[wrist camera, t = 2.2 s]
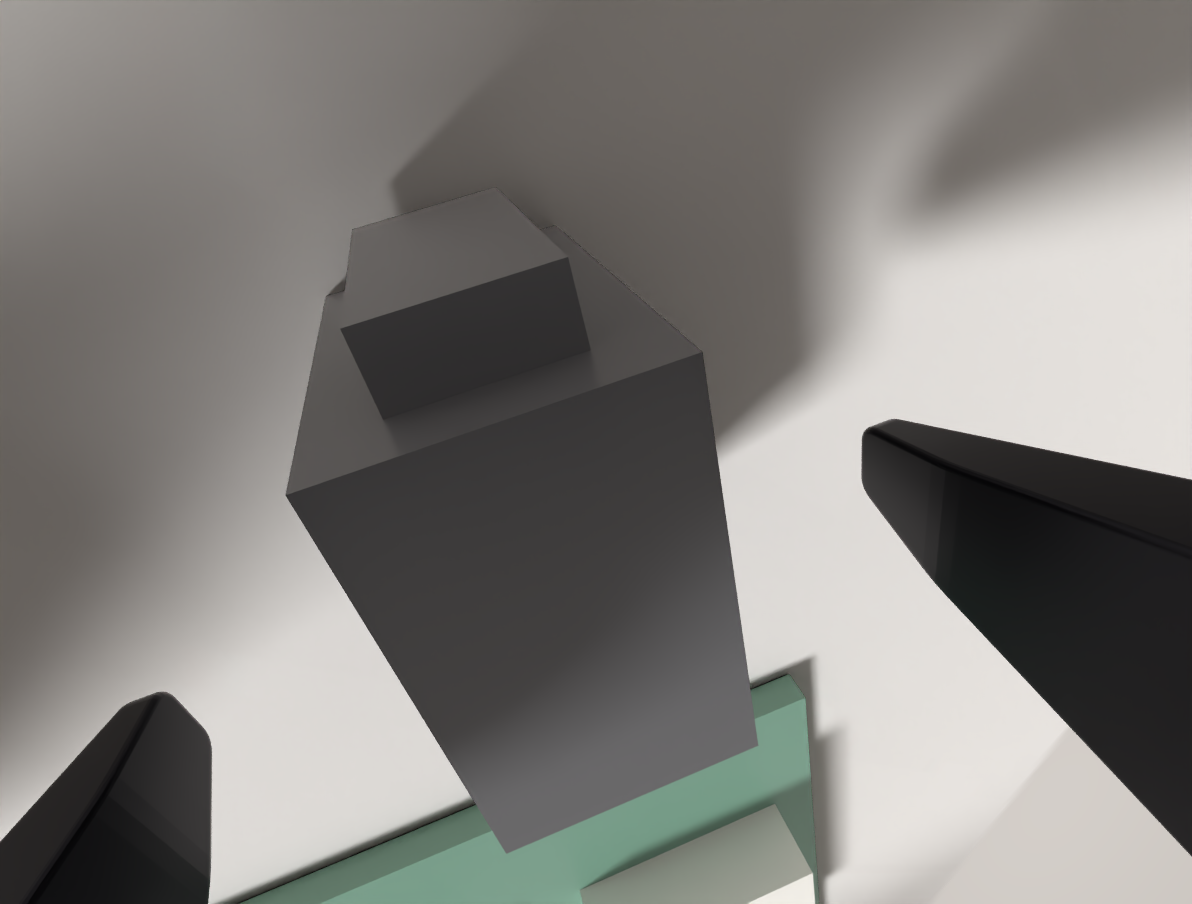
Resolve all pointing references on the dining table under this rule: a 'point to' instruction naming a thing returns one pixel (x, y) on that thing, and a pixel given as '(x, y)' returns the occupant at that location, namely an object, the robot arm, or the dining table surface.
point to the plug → (526, 512)
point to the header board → (619, 841)
